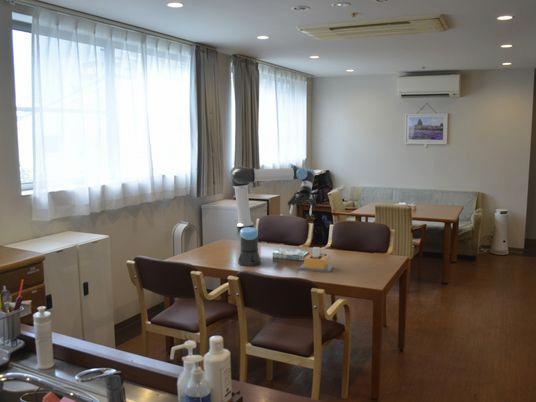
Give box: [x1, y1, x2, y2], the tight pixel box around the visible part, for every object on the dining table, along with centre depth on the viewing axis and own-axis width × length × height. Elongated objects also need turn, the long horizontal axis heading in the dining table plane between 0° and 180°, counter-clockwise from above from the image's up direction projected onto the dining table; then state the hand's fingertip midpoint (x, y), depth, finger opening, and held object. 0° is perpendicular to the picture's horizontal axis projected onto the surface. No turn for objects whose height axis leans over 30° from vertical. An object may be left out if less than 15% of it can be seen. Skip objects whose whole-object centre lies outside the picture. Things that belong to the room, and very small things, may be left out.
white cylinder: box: [311, 246, 321, 259], centre depth 319 cm, size 4×4×12 cm
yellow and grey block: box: [297, 254, 335, 273], centre depth 320 cm, size 20×12×8 cm, turn 71°
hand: (300, 214), depth 332 cm, fingers open, 13 cm apart
